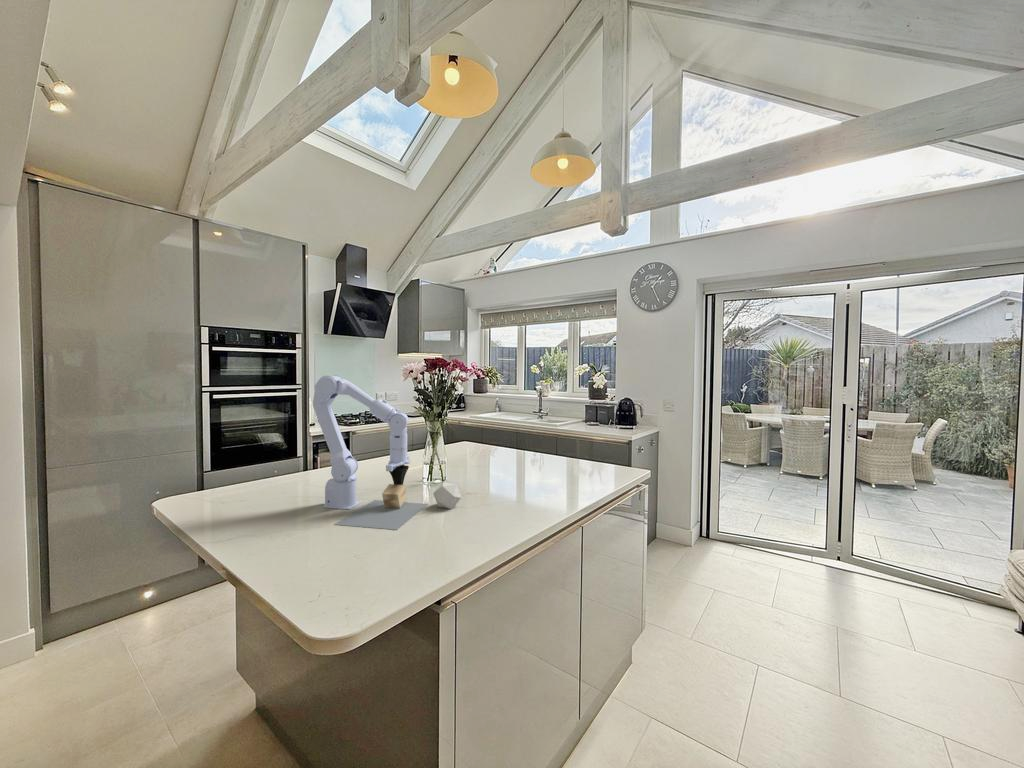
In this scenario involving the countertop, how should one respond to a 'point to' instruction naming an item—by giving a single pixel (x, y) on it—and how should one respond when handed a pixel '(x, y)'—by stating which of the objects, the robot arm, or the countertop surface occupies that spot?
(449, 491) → the die
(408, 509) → the rubber mat
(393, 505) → the oak block
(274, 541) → the countertop surface
